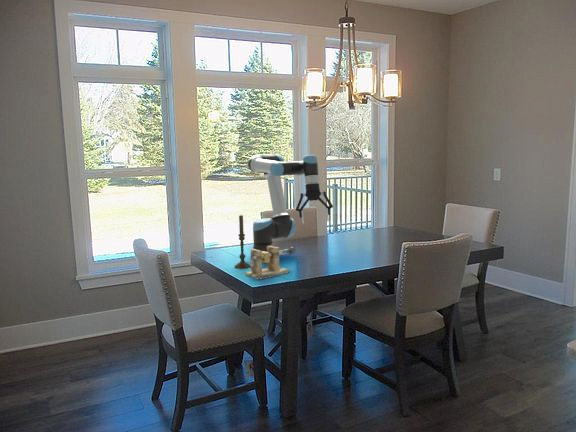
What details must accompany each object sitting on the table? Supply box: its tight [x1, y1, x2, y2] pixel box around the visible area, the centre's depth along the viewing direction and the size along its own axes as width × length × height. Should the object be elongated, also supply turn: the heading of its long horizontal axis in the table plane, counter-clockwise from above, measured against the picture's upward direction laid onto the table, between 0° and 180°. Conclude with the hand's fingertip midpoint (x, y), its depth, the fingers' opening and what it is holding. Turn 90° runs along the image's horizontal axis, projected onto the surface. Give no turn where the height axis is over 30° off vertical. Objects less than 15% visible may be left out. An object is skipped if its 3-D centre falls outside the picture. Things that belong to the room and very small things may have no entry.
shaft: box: [253, 246, 296, 260], centre depth 253 cm, size 4×26×4 cm, turn 129°
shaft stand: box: [245, 245, 290, 280], centre depth 251 cm, size 12×20×14 cm, turn 129°
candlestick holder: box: [234, 214, 251, 269], centre depth 265 cm, size 9×9×30 cm
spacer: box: [262, 251, 270, 264], centre depth 249 cm, size 5×3×5 cm, turn 39°
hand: (315, 222), depth 257 cm, fingers open, 13 cm apart
